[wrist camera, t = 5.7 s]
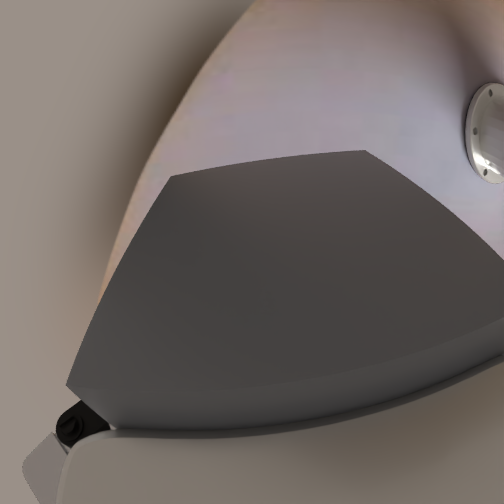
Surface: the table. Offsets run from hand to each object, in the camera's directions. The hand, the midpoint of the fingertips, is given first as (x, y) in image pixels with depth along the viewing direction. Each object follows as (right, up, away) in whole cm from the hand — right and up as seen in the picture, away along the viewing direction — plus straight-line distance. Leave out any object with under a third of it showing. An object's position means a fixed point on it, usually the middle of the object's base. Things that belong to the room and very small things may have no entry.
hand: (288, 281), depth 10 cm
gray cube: (0, +1, +2) cm, 2 cm away
